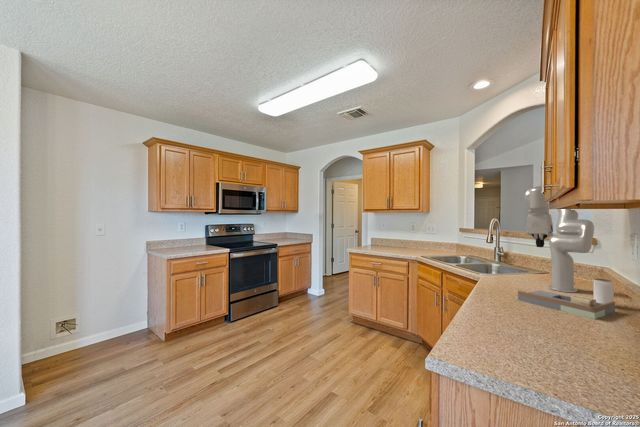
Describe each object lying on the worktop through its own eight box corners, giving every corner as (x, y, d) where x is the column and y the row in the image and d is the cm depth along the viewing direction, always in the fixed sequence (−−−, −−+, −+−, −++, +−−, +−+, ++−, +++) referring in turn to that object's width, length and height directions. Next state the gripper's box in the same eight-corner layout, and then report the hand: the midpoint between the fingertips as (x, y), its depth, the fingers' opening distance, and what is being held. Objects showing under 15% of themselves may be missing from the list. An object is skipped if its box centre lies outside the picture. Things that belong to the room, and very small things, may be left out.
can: (604, 303, 127) (603, 278, 127) (618, 307, 121) (617, 281, 121) (589, 302, 128) (589, 278, 128) (602, 307, 121) (602, 281, 122)
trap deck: (539, 295, 140) (539, 286, 141) (614, 311, 115) (614, 301, 115) (517, 299, 132) (517, 290, 132) (594, 319, 107) (594, 308, 107)
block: (577, 304, 117) (577, 295, 117) (596, 308, 112) (596, 299, 112) (570, 306, 115) (570, 297, 115) (589, 310, 109) (589, 301, 109)
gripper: (519, 212, 141) (519, 246, 141) (553, 211, 128) (554, 249, 128) (526, 211, 144) (527, 245, 144) (561, 211, 131) (561, 248, 131)
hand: (540, 246), depth 136 cm, fingers closed
